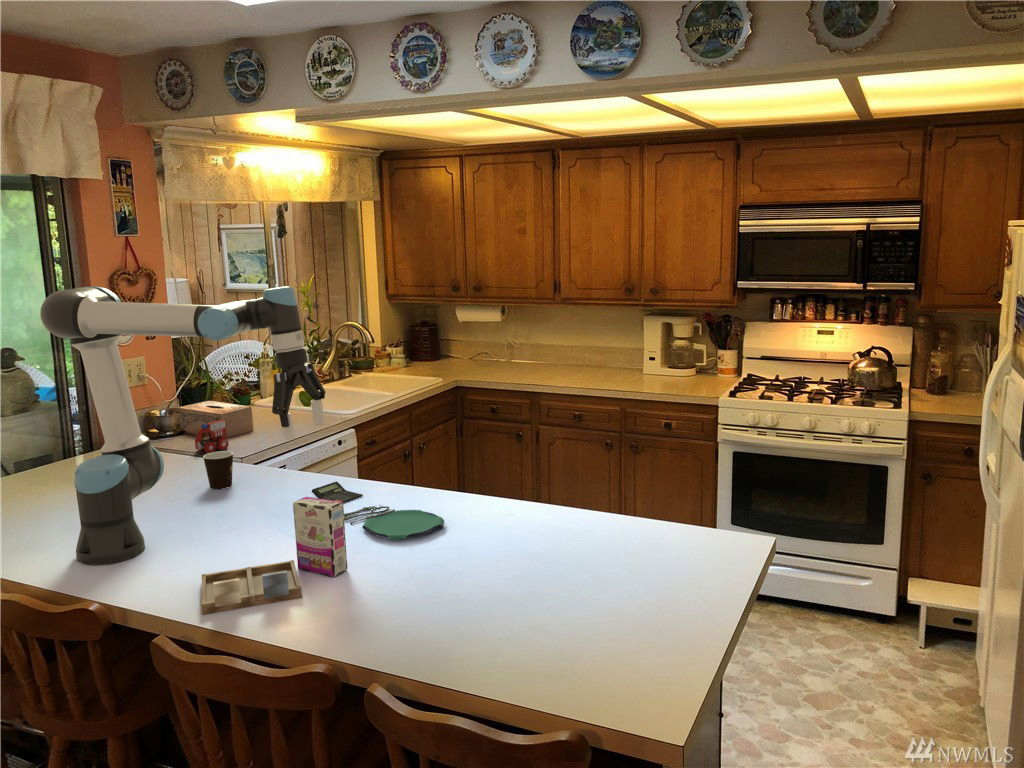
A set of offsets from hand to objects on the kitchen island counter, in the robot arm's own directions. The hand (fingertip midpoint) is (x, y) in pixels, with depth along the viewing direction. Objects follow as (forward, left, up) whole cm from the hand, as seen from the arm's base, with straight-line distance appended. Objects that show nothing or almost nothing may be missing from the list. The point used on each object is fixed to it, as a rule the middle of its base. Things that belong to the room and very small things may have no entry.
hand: (305, 431), depth 203 cm
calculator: (+10, +26, -27) cm, 39 cm away
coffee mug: (-21, +53, -27) cm, 63 cm away
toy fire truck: (-24, +99, -27) cm, 105 cm away
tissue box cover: (-22, +129, -27) cm, 134 cm away
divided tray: (-17, -30, -27) cm, 44 cm away
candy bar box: (-1, -25, -27) cm, 37 cm away
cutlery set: (+20, -2, -28) cm, 34 cm away
